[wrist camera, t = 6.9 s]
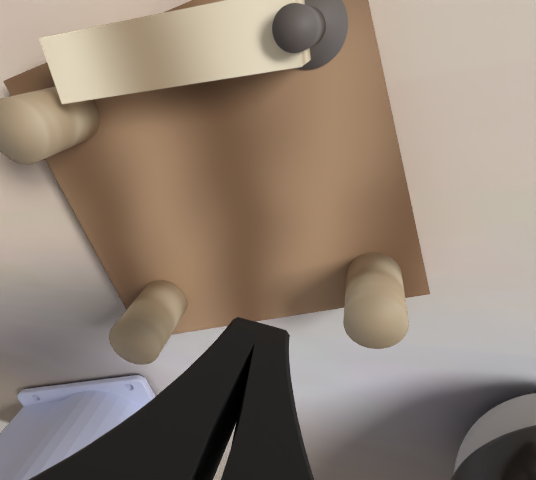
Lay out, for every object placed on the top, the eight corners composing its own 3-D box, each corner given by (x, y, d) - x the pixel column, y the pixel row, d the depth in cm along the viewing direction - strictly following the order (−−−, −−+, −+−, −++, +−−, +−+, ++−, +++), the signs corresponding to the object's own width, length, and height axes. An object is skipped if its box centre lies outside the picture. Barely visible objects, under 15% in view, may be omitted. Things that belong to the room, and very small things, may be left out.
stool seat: (152, 324, 23) (110, 385, 19) (24, 77, 18) (-68, 93, 14) (426, 278, 19) (442, 345, 15) (354, -63, 14) (350, -94, 10)
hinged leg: (322, -12, 13) (312, -19, 11) (328, 56, 14) (321, 65, 12) (84, 35, 16) (27, 38, 13) (101, 92, 16) (52, 106, 14)
